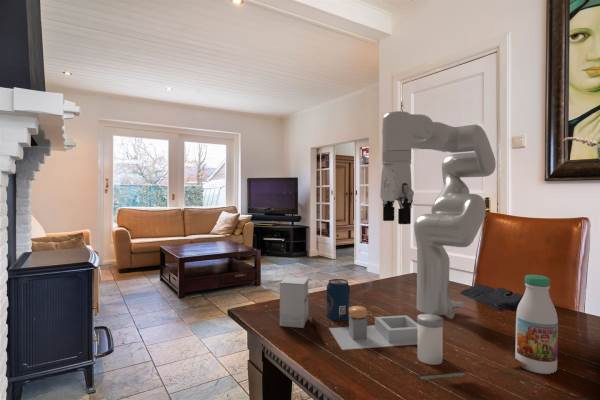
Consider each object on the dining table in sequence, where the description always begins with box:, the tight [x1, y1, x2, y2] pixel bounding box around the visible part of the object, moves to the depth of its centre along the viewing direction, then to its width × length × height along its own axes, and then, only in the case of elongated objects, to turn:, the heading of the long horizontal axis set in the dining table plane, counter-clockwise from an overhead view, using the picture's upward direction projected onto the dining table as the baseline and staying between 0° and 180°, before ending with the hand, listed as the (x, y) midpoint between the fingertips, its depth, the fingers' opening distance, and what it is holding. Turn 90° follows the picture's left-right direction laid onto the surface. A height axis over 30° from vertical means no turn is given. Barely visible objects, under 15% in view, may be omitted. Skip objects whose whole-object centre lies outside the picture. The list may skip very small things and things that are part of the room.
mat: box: [416, 371, 465, 380], centre depth 78 cm, size 10×10×1 cm
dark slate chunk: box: [459, 284, 524, 312], centre depth 125 cm, size 15×22×5 cm
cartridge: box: [416, 313, 444, 366], centre depth 78 cm, size 5×5×10 cm
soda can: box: [325, 278, 351, 322], centre depth 104 cm, size 7×7×12 cm
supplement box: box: [279, 276, 309, 329], centre depth 103 cm, size 7×7×13 cm
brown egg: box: [349, 305, 368, 319], centre depth 90 cm, size 4×4×6 cm
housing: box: [328, 314, 418, 351], centre depth 91 cm, size 24×13×6 cm, turn 99°
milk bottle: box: [514, 274, 559, 375], centre depth 77 cm, size 8×8×20 cm
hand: (396, 222), depth 95 cm, fingers open, 9 cm apart
